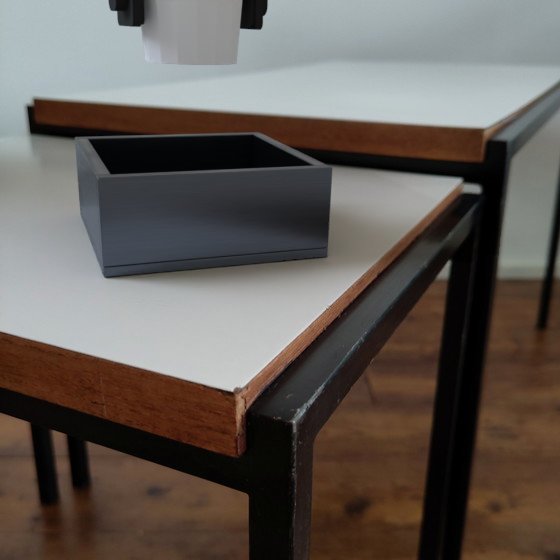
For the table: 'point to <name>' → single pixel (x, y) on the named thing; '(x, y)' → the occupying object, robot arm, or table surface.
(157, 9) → the white cup
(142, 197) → the dark grey storage bin
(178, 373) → the table surface
